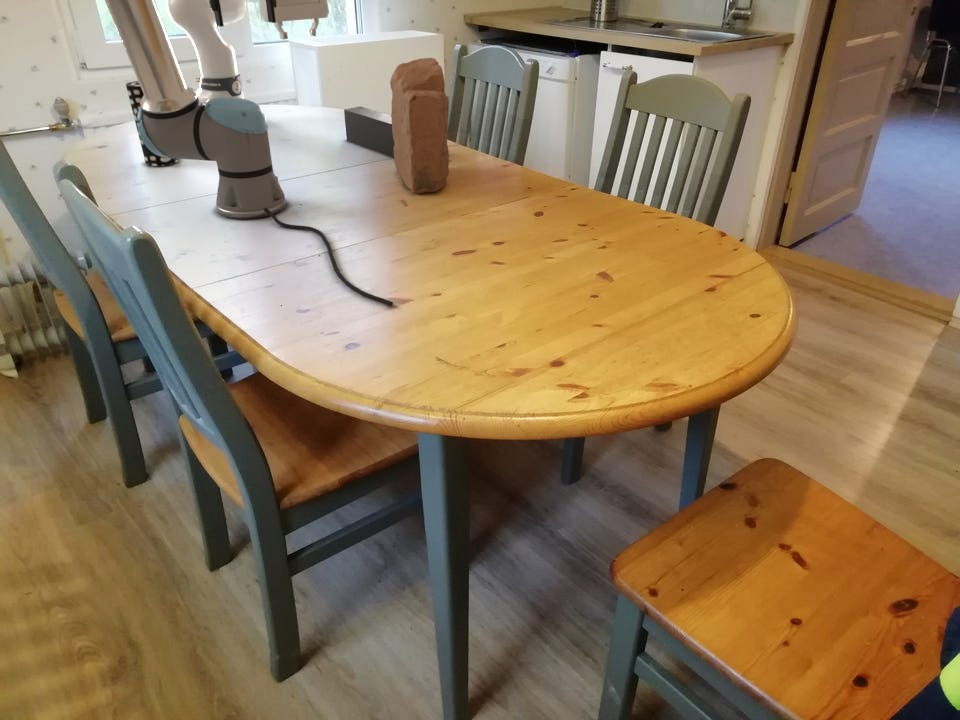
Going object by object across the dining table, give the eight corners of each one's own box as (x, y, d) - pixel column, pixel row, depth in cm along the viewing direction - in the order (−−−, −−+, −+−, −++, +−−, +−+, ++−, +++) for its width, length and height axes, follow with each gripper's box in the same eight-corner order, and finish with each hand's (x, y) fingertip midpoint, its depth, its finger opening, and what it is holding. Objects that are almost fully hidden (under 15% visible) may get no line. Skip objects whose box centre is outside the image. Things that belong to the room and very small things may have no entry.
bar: (419, 156, 193) (418, 123, 188) (403, 161, 190) (401, 127, 185) (362, 137, 210) (360, 106, 205) (346, 141, 206) (343, 109, 201)
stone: (458, 191, 168) (455, 67, 154) (413, 195, 165) (406, 69, 151) (434, 168, 185) (430, 55, 171) (393, 172, 182) (386, 57, 168)
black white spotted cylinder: (184, 157, 190) (167, 80, 179) (169, 166, 183) (151, 87, 172) (155, 156, 190) (136, 79, 179) (139, 165, 183) (119, 86, 172)
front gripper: (274, -76, 171) (286, 19, 182) (171, -77, 157) (191, 25, 169) (287, -76, 166) (299, 22, 177) (183, -77, 152) (202, 29, 164)
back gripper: (318, -20, 198) (323, 33, 206) (253, -17, 186) (261, 39, 194) (330, -19, 194) (335, 35, 202) (265, -15, 182) (272, 42, 190)
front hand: (246, 24), depth 173 cm, fingers open, 13 cm apart
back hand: (298, 37), depth 198 cm, fingers open, 8 cm apart
